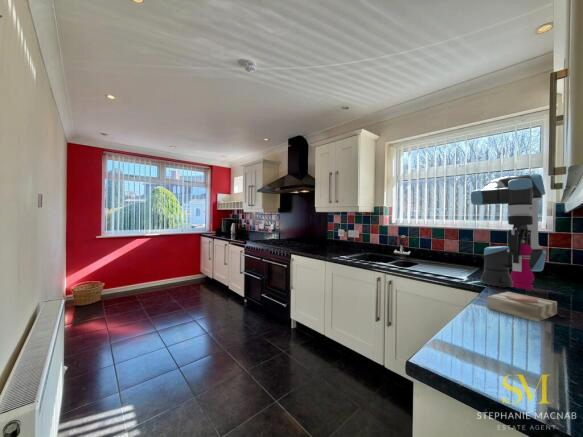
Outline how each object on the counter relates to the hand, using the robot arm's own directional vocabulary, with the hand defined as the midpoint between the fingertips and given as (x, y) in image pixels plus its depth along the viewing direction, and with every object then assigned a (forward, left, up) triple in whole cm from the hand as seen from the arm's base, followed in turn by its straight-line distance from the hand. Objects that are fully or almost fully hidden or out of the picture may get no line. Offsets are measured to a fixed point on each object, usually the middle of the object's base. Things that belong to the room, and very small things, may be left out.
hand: (520, 270), depth 101 cm
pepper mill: (0, 0, -7) cm, 7 cm away
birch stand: (0, 0, -17) cm, 17 cm away
